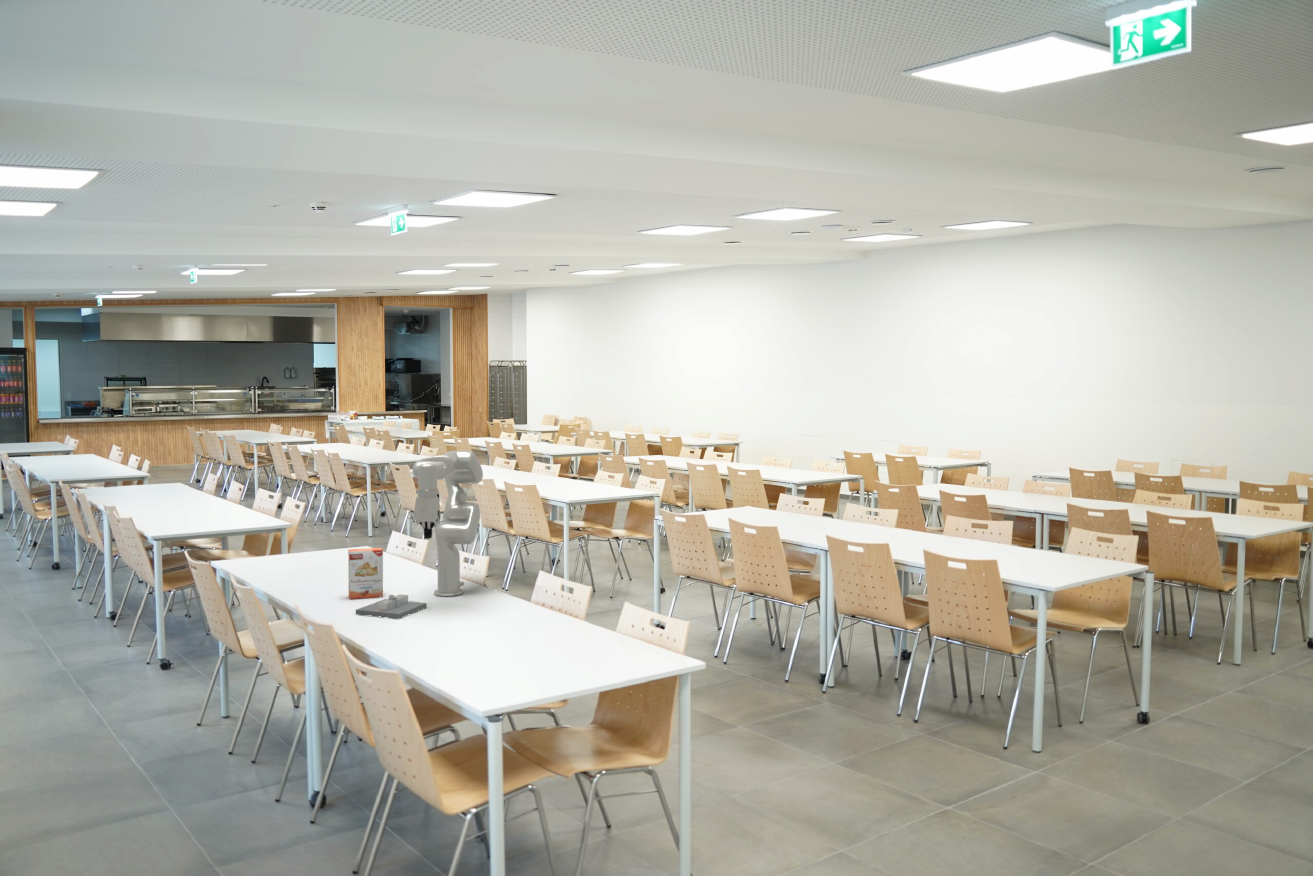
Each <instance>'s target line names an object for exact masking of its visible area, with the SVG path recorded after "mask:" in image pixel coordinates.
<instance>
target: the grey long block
mask: <svg viewBox="0 0 1313 876" xmlns="http://www.w3.org/2000/svg"><path fill="white" fill-rule="evenodd" d="M385 599H386V600H384V599H383V600H384V601H381V600H380V601H381V602H379V603H378V610H381V611H388V610H390V609H393V608H395V607H399V606H401V605H403V604H405V603H408V601H409V594H401V593H400V594H396V595H394V600H389V597H388V598H385Z"/></svg>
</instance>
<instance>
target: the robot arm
mask: <svg viewBox="0 0 1313 876" xmlns="http://www.w3.org/2000/svg"><path fill="white" fill-rule="evenodd" d="M412 475H413V476H414V478H415V479H417V487H418V488H417V490H415V493H416V494H417V496H416V498H415V502H414V511H413V512H414V513H413V515H414V516H413V517H414V518H413V519H414V521H415V523H416V524H418V525H420V526H421V528H422V529H423V538H424V539H431V538H432V537H433V528H434V527H435V526H436V527H435V530H434V533H435V534H434V536H435V542H436V549H437V551H436V552H437V589H436V590H434V591H433V594H434V596H437V595H438V596H437V597H446V596H447V597H455V596H454V595H458V596H460V594H461V595H463V594H464V590H463V589H462V588H461V587H463V586H464V584H465V582H464V581H462V580H461V579H460V578H461V577H460V576H461V571H460V569H461V567H460V565H461V563H460V562H461V561H460V560H461V559H460V558H461V557H460V551H459V549H458V547H456V545H471V544H473V543H474V541H475V539H476V537H477V532H478V527H479V523H480V519H481V508H480V506H479V505H478V503H476V502H471V501H469V502H467V499H468V494H467V492H466V490H465V488H463V487H462V485H460V484H468V485H471V484H472V485H474V484H480V483H481V482H482V480H483V477H484V476H483V475H484V472H483V468H482V465H481V463H480V461H479V459H478V457H477V456H476V453H474V452H473V451H471V450H450V451H446V452H444V453H442V454H441V455H435V456H431V457H430V456H429V457H425V458H421V459H418V460H417V461H415V463H414V464H413V466H412ZM443 479H444V481H445V486H446V488H447V498H446V501H445V502H446V503H445V505H444V511H443V520H444V522H440V520H441V514H442V513H441V503H440V498H439V497H438V480H440V481H441V480H443ZM460 580H461V581H460Z"/></svg>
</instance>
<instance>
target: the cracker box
mask: <svg viewBox="0 0 1313 876" xmlns="http://www.w3.org/2000/svg"><path fill="white" fill-rule="evenodd" d="M347 550H348V558H347V559H348V563H347V564H348V598H349V600H355V599H359V600H360V599H371V598H372V599H373V598H381V597H380V596H383V597H384V550H383V548H382V547H371V548H369V547H368V548H353V549H347Z"/></svg>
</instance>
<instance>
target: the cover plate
mask: <svg viewBox="0 0 1313 876" xmlns="http://www.w3.org/2000/svg"><path fill="white" fill-rule="evenodd" d="M394 596H395V595H394V594H389V595H388V598H389V600H394ZM386 599H387V598H384V599H382V600H379V601H376V602H373V603H370V604H368V605H365V606H362V607H359V608H357V609H355V615H356V614H360V615H359V616H364V615H372V616H371V617H374V616H381V617H380V618H384V617H388V618H387V619H394V618H398V619H397V620H400V619H402V617H403V616H405V617H407V616H409V615H408V614H410V615H412V614H414V613H413V612H415V613H417V612H419V611H418V610H420V611H421V609H422V610H424V609H423V608H425V609H427V608H428V607H427V602H420V601H409V600H408V603H405V604H403V605H401V606H399V607H395V608H393V609H390V610H388V611H381V610H378V603H379V602H381V601H384V600H386ZM426 607H427V608H426ZM416 611H417V612H416ZM411 613H412V614H411ZM406 615H407V616H406ZM399 618H400V619H399ZM403 618H404V617H403Z"/></svg>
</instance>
